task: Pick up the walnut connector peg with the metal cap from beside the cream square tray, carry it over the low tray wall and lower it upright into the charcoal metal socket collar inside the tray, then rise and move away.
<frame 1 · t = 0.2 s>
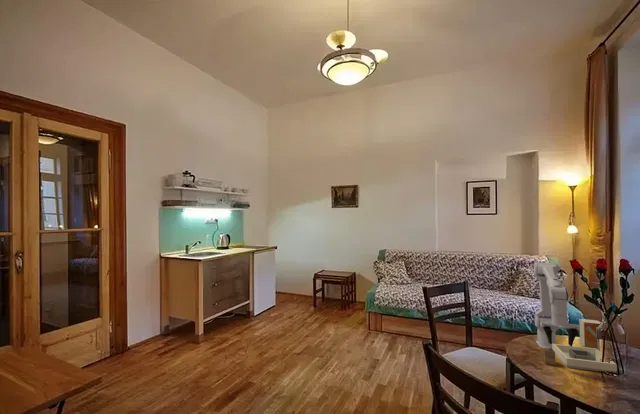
hand: (560, 344, 143), 10 cm above the table, tool pointing down, fingers open, 7 cm apart
connector peg: (548, 362, 147), on the table
cream square tray: (582, 361, 147), on the table
skincare box: (606, 354, 156), on the table
small box: (591, 346, 166), on the table
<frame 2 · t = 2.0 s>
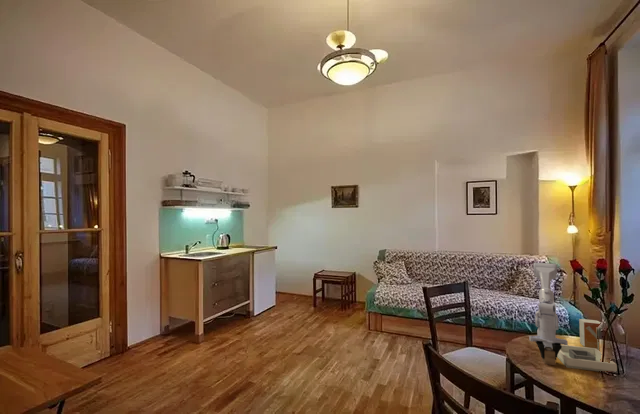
hand: (548, 358, 147), 2 cm above the table, tool pointing down, fingers closed on connector peg, 4 cm apart
connector peg: (548, 362, 147), on the table, touching gripper
everything else where it was.
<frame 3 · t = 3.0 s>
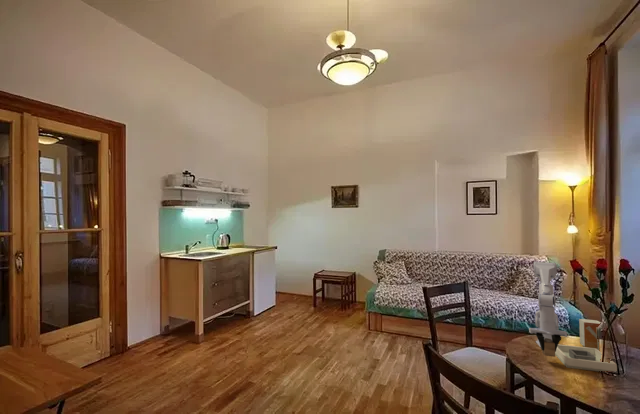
hand: (548, 350, 147), 6 cm above the table, tool pointing down, fingers closed on connector peg, 4 cm apart
connector peg: (548, 354, 147), point 4 cm above the table, touching gripper
everything else where it was.
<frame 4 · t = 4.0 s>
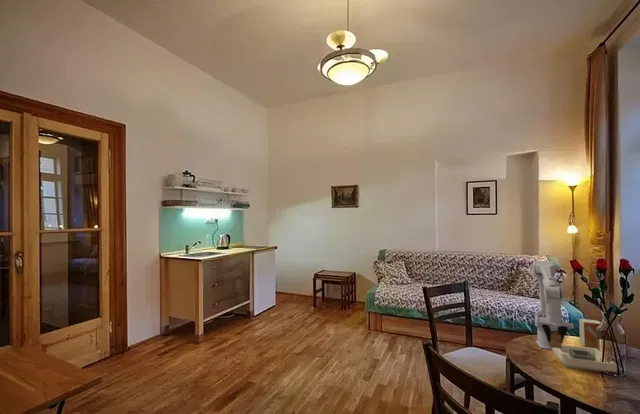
hand: (554, 342, 147), 9 cm above the table, tool pointing down, fingers closed on connector peg, 4 cm apart
connector peg: (554, 346, 147), point 7 cm above the table, touching gripper
everything else where it was.
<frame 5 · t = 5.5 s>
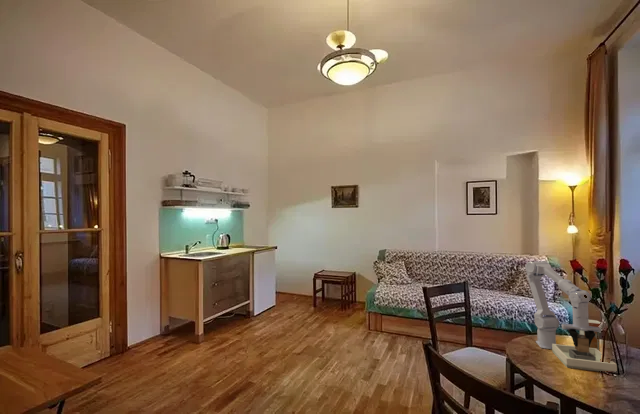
hand: (581, 346, 148), 7 cm above the table, tool pointing down, fingers closed on connector peg, 4 cm apart
connector peg: (581, 350, 147), point 5 cm above the table, touching gripper
everything else where it was.
when the fingers open (5 cm above the table, at t = 6.4 s): connector peg drops 2 cm, resting on cream square tray.
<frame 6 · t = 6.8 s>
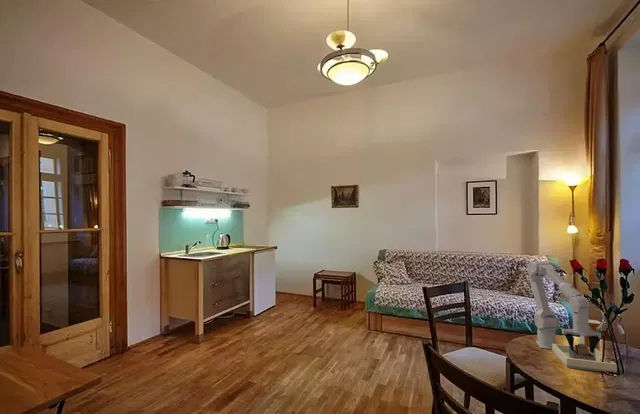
hand: (581, 351, 148), 5 cm above the table, tool pointing down, fingers open, 7 cm apart
connector peg: (582, 359, 147), point 1 cm above the table, touching cream square tray
everything else where it was.
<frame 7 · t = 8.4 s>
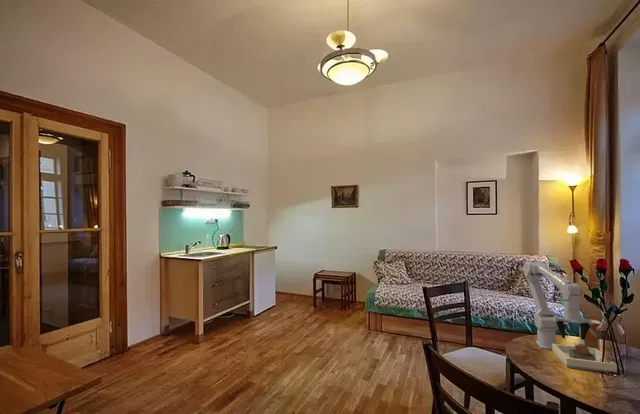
hand: (572, 338, 149), 10 cm above the table, tool pointing down, fingers open, 7 cm apart
nothing on the table moved.
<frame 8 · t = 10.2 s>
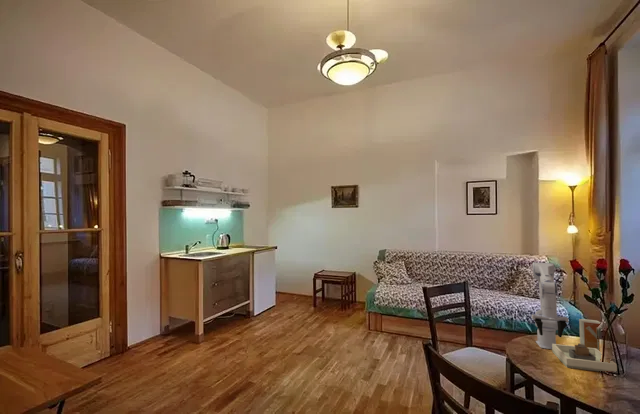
hand: (550, 335, 153), 10 cm above the table, tool pointing down, fingers open, 7 cm apart
nothing on the table moved.
at the end: connector peg 0.1 cm off-centre on the cream square tray, point 1.0 cm above the cream square tray's base; connector peg tilted 0°; the gripper is holding nothing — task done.
